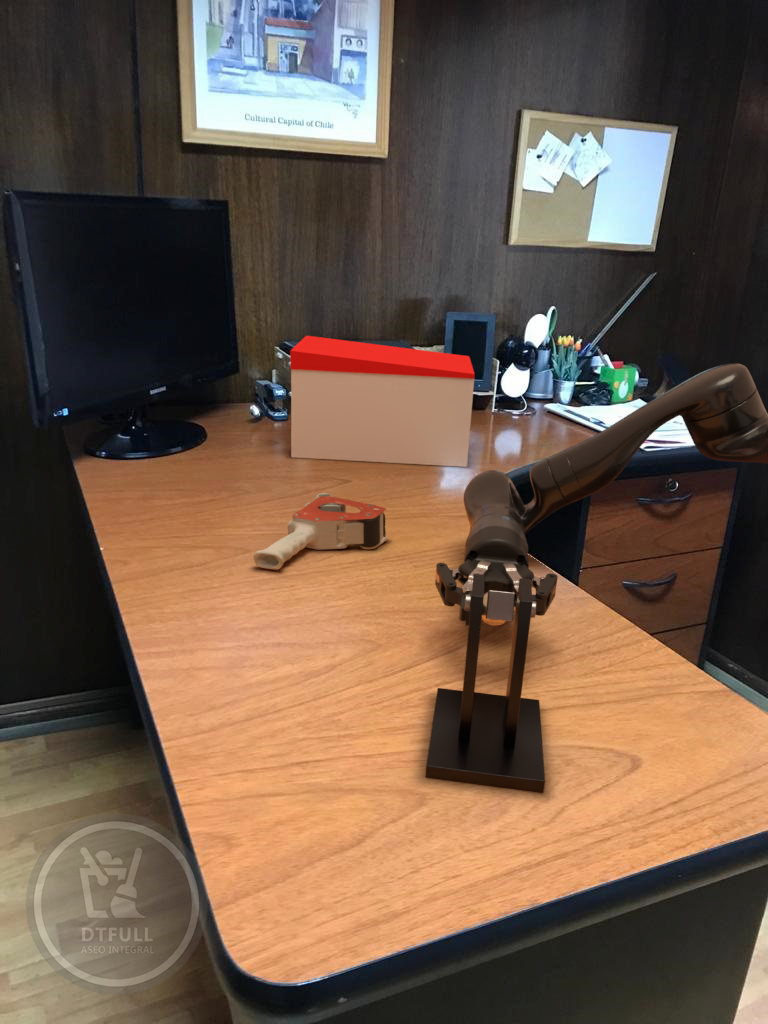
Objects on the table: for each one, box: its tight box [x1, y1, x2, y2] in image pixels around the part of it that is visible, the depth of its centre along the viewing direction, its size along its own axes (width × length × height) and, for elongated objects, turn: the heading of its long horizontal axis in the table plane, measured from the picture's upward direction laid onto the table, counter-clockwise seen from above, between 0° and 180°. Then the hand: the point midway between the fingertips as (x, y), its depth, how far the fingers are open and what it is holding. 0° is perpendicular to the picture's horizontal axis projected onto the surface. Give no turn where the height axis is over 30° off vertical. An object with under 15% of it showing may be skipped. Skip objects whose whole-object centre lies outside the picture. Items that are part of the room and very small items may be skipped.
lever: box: [481, 590, 515, 627], centre depth 73 cm, size 17×4×4 cm, turn 171°
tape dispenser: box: [253, 492, 388, 570], centre depth 112 cm, size 18×5×20 cm
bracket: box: [425, 574, 546, 793], centre depth 68 cm, size 12×10×16 cm
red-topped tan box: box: [289, 335, 476, 468], centre depth 158 cm, size 21×35×21 cm, turn 87°
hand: (494, 620), depth 78 cm, fingers open, 4 cm apart
